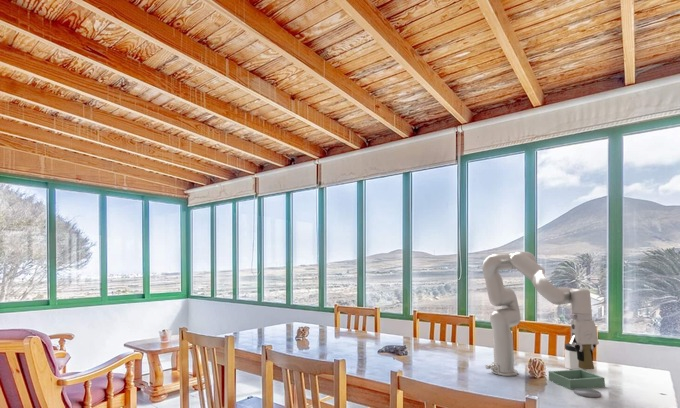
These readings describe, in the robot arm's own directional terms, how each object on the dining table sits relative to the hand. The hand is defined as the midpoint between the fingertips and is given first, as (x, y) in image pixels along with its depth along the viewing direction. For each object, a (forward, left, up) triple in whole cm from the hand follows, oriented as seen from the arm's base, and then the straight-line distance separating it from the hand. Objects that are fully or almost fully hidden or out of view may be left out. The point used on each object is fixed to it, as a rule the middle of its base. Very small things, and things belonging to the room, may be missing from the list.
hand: (585, 359), depth 179 cm
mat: (0, 0, -14) cm, 14 cm away
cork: (0, 0, -3) cm, 3 cm away
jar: (+24, +36, -14) cm, 45 cm away
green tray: (+6, +14, -14) cm, 21 cm away
